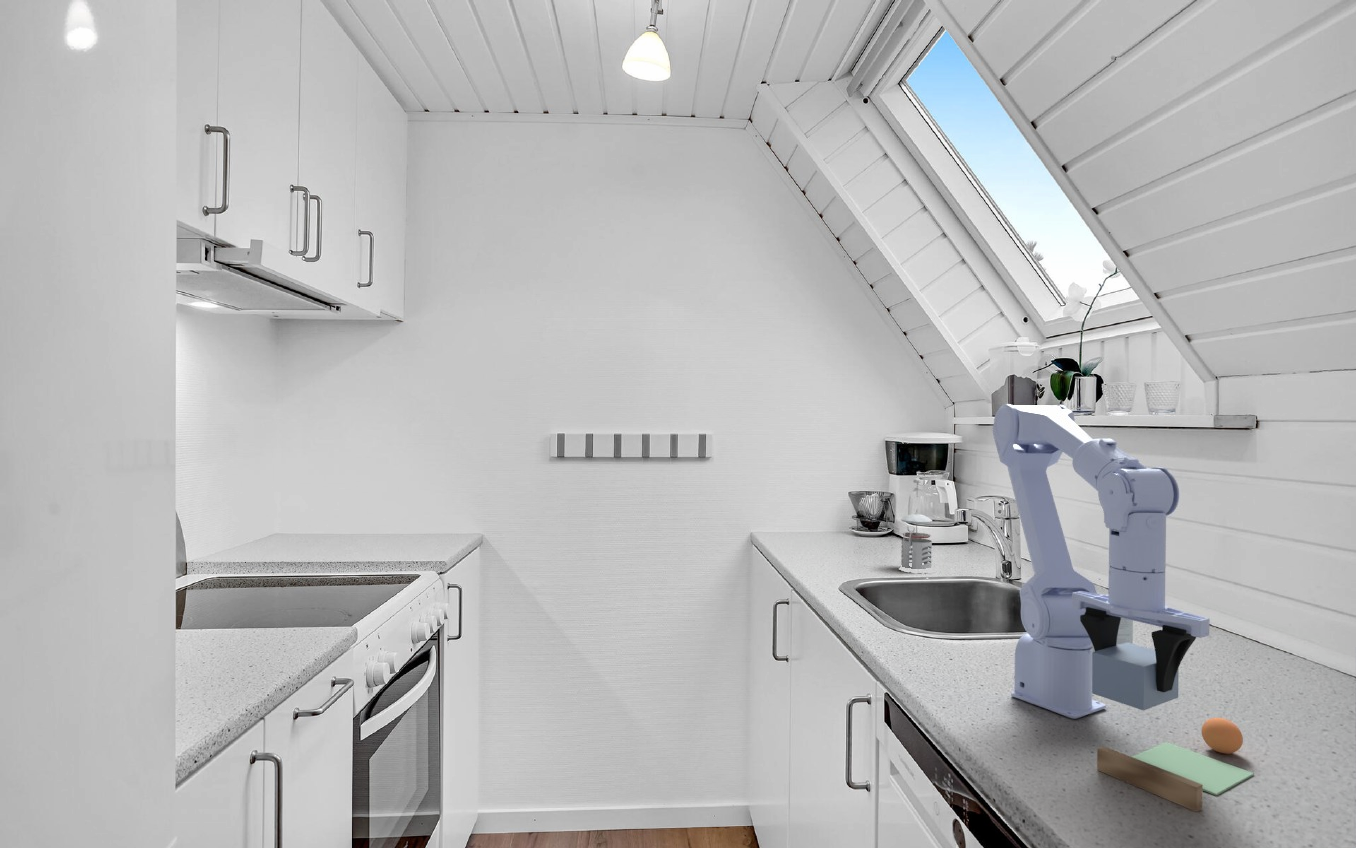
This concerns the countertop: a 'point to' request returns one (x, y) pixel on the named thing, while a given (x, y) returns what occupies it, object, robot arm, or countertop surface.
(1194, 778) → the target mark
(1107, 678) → the grey-blue rectangular brick
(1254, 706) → the countertop surface
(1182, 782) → the wall
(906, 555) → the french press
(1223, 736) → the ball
